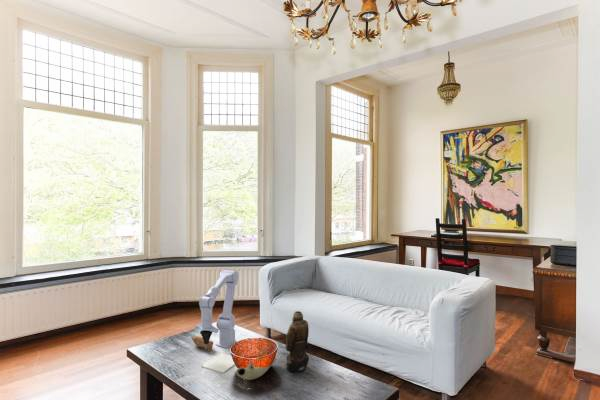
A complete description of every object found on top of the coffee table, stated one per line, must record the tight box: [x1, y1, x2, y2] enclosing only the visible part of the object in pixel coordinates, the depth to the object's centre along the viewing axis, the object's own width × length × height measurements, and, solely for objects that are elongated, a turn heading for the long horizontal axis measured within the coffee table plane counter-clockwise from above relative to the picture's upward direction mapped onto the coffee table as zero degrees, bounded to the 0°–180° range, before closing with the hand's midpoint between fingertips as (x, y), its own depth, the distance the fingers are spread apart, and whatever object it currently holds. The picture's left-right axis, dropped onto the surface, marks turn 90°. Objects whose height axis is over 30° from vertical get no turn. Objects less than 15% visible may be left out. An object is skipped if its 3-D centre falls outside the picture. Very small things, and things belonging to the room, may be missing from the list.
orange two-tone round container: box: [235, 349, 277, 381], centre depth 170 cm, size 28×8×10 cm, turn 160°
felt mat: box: [201, 352, 236, 374], centre depth 184 cm, size 16×14×1 cm
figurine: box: [191, 335, 214, 352], centre depth 201 cm, size 8×8×15 cm
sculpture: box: [285, 310, 310, 374], centre depth 180 cm, size 12×13×30 cm
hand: (206, 343), depth 187 cm, fingers closed
